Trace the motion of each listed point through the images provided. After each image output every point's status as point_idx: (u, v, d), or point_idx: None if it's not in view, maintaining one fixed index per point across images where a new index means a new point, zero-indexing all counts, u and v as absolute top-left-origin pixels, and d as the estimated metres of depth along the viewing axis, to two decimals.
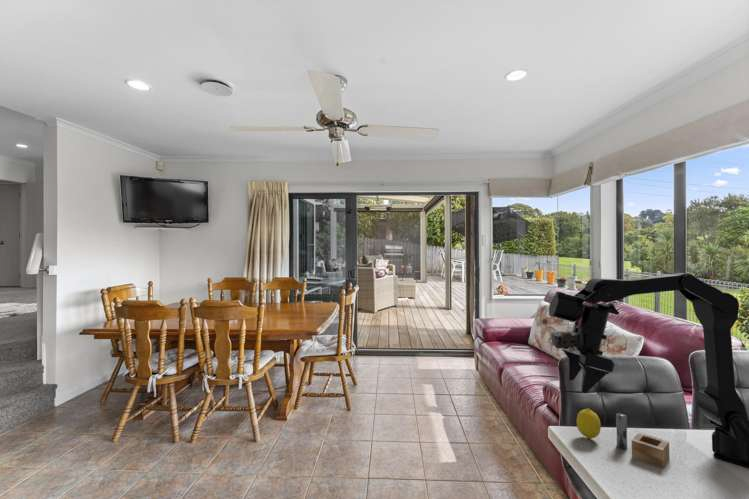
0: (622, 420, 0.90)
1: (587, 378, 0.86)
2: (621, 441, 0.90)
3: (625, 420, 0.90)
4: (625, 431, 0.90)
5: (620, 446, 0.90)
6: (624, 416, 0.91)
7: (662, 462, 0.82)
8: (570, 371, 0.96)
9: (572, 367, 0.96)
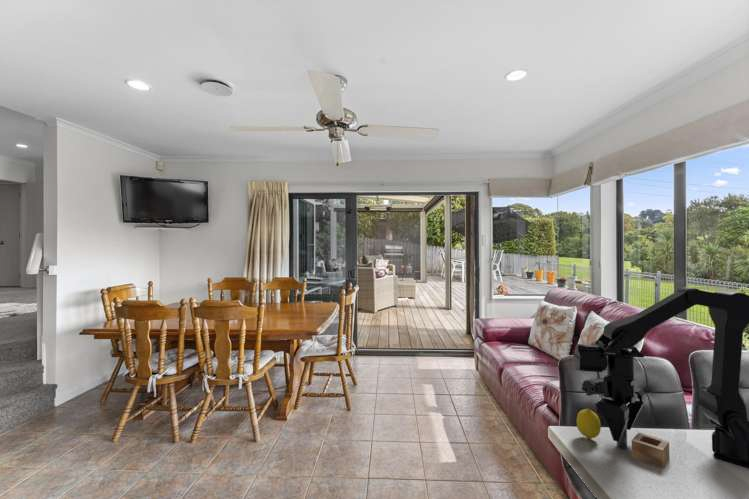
0: None
1: (611, 426, 0.88)
2: (621, 441, 0.90)
3: None
4: (625, 431, 0.90)
5: (620, 446, 0.90)
6: None
7: (662, 462, 0.82)
8: None
9: None
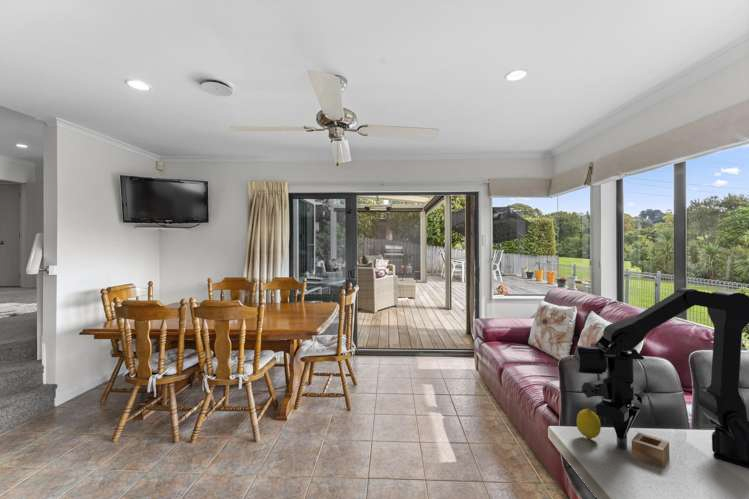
0: None
1: (616, 424, 0.90)
2: (621, 441, 0.90)
3: None
4: None
5: (620, 446, 0.90)
6: None
7: (662, 462, 0.82)
8: None
9: None
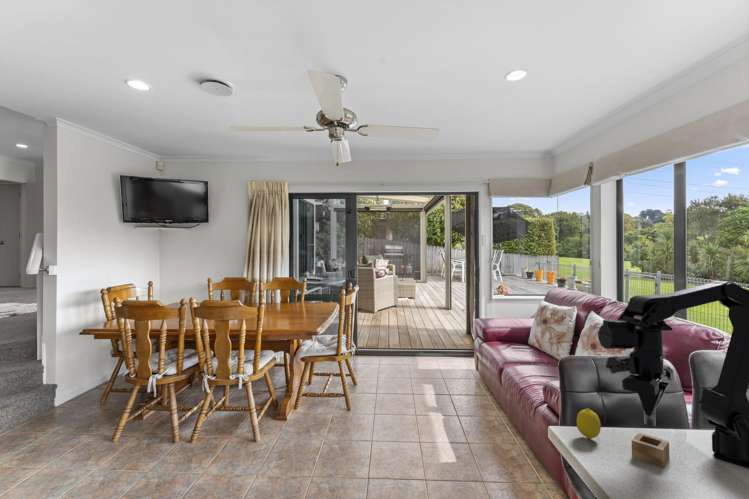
0: None
1: (643, 399, 0.85)
2: (649, 418, 0.86)
3: None
4: None
5: (648, 423, 0.86)
6: None
7: (662, 462, 0.82)
8: None
9: None
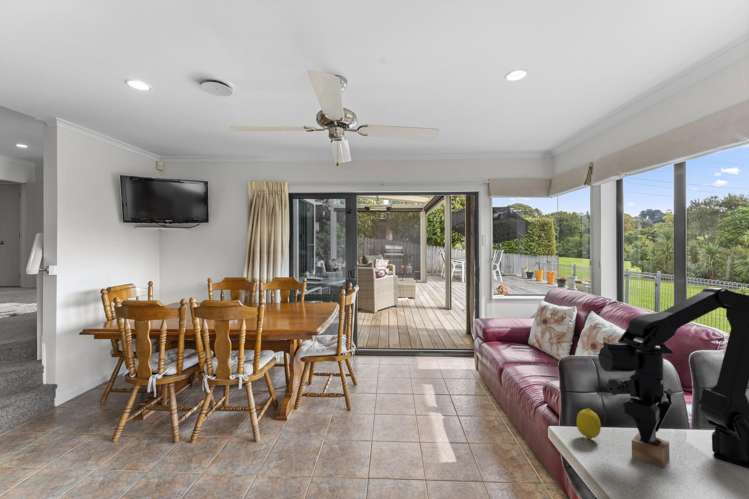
0: None
1: (640, 427, 0.83)
2: None
3: None
4: (654, 441, 0.85)
5: None
6: None
7: (662, 462, 0.82)
8: None
9: None
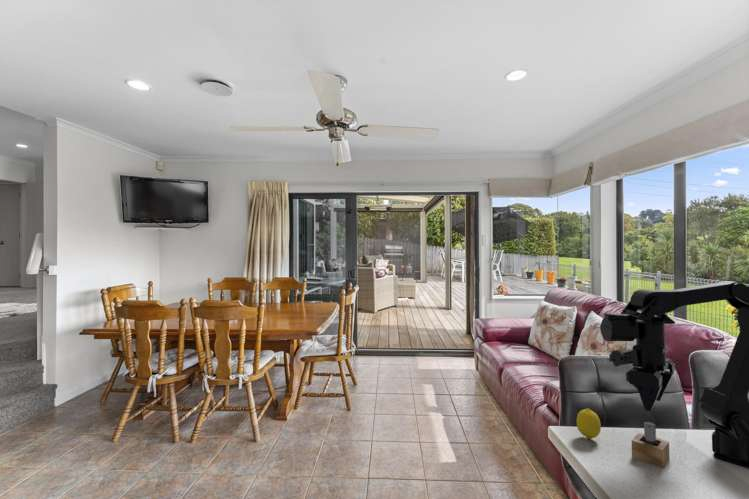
0: (651, 429, 0.85)
1: (643, 395, 0.85)
2: None
3: (654, 429, 0.85)
4: (654, 441, 0.85)
5: None
6: (653, 425, 0.86)
7: (662, 462, 0.82)
8: None
9: None
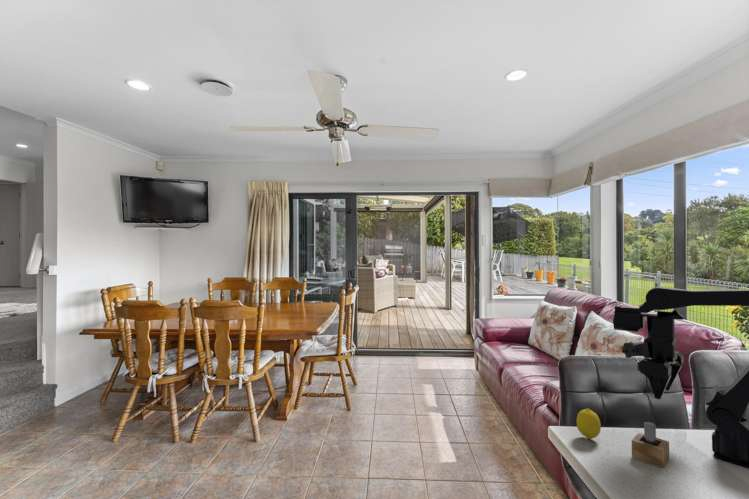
0: (651, 429, 0.85)
1: (653, 384, 0.91)
2: None
3: (654, 429, 0.85)
4: (654, 441, 0.85)
5: None
6: (653, 425, 0.86)
7: (662, 462, 0.82)
8: None
9: None
